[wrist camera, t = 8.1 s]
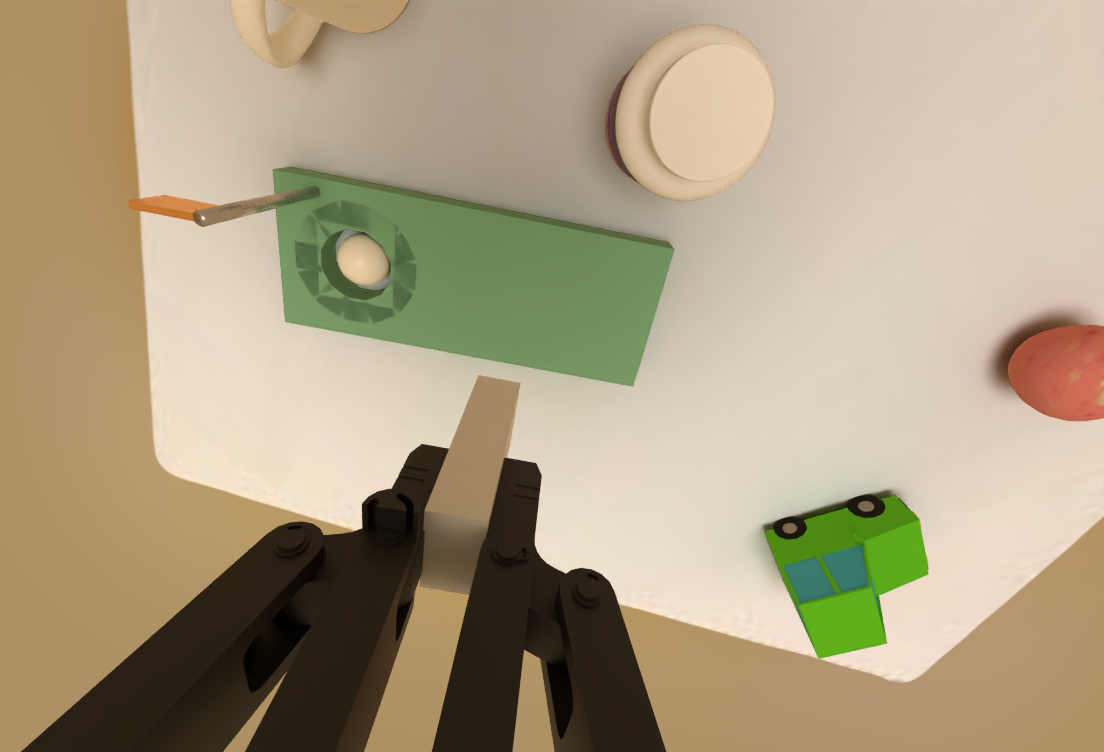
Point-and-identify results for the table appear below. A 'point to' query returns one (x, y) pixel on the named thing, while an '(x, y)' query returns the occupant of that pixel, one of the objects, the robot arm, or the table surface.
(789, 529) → the toy car
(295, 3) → the mug
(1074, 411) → the apple
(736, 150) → the pill bottle
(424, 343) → the putting mat
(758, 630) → the table surface
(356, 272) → the ball
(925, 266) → the table surface
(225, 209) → the flag pin
